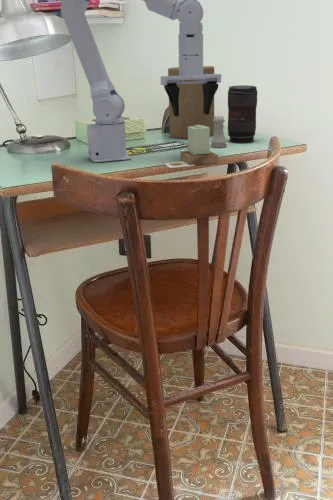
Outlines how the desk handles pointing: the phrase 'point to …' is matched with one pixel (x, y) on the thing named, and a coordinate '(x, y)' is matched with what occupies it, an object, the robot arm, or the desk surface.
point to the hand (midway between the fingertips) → (191, 115)
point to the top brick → (198, 139)
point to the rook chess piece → (218, 133)
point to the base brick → (199, 158)
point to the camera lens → (242, 113)
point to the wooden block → (190, 107)
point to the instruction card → (177, 164)
